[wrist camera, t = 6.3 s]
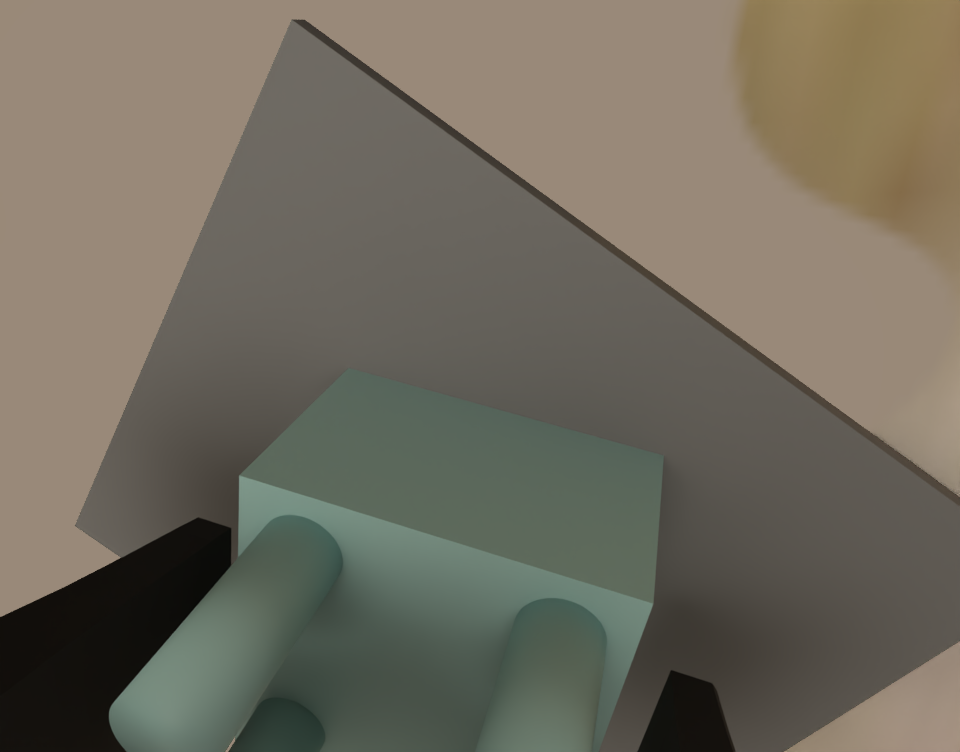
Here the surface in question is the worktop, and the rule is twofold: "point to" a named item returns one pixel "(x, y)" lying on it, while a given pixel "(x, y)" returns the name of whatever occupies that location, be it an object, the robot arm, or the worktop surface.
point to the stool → (414, 588)
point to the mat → (533, 397)
